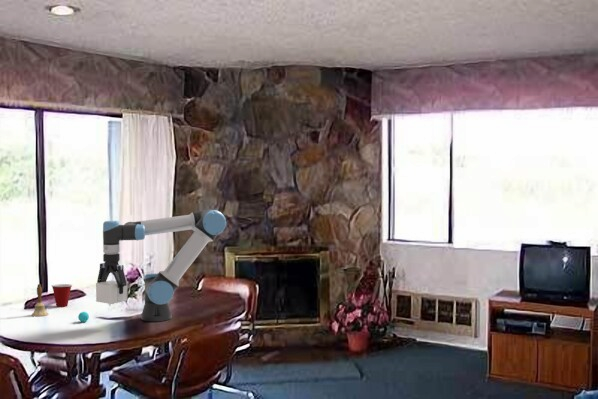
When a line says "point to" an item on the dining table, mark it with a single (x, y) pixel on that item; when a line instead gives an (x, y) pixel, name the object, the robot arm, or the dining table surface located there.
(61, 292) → the plastic cup
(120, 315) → the dining table surface
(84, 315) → the ball
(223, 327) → the dining table surface
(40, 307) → the hand bell
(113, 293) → the white box
